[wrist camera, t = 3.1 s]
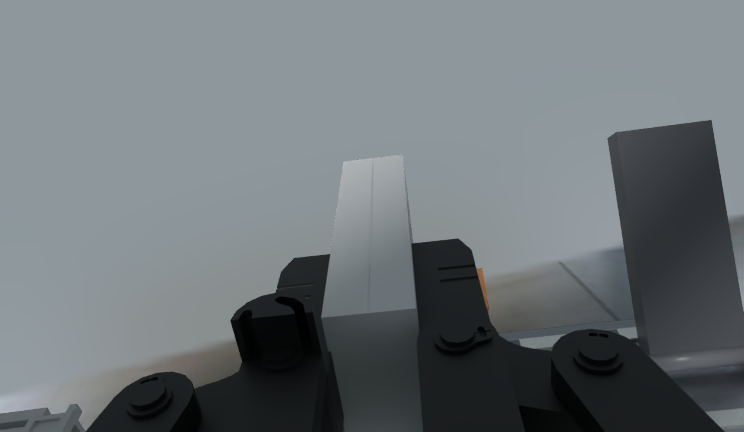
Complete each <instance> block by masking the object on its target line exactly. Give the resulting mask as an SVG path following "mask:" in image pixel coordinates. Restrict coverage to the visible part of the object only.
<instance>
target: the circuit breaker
mask: <svg viewBox="0 0 744 432" xmlns="http://www.w3.org/2000/svg"><path fill="white" fill-rule="evenodd" d="M81 413H82V411H81V409H80V408H79V406H78V405H77V404H72V405H70V406H69V407H68V409H67V411H66V413H60V414H52V415H51V414H50V412H49V410H48V408H41V409H33V410H25V411H18V412H10V413H2V414H0V432H86V431H85V430H84V428H83V427H82V425H81V424H80V422H79V421H78V419H79V417H80V415H81Z"/></svg>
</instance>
